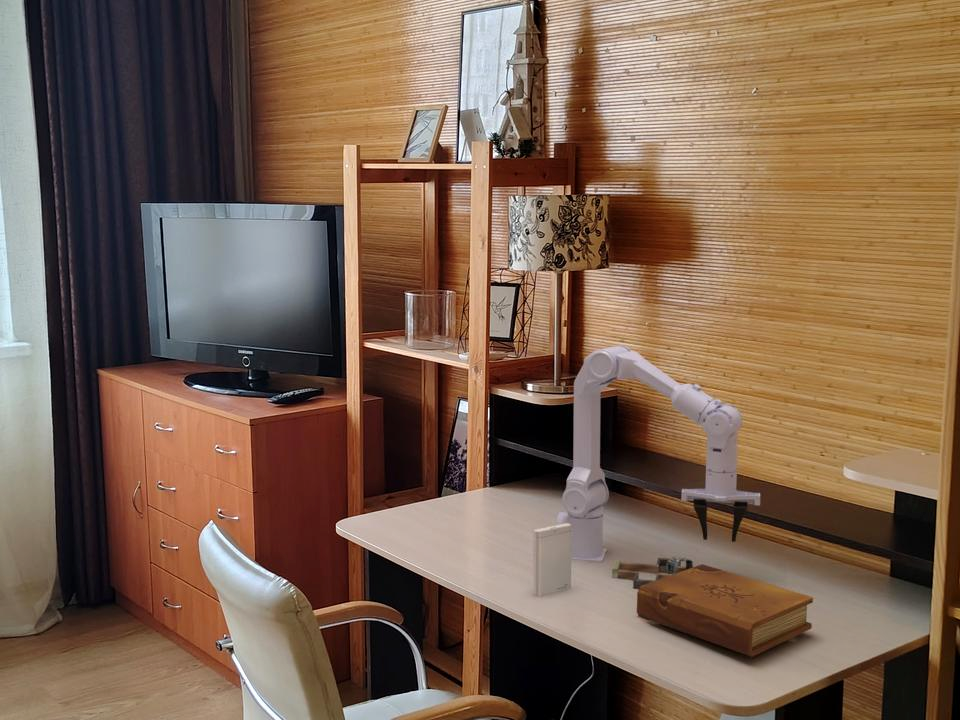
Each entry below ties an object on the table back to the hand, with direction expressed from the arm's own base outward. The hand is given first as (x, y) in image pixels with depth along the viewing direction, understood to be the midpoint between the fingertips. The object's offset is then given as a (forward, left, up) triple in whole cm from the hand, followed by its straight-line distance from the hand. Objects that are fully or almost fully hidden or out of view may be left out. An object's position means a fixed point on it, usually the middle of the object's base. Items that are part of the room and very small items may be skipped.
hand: (719, 539), depth 202 cm
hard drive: (-30, -13, -9) cm, 34 cm away
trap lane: (-11, 0, -8) cm, 14 cm away
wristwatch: (-7, 0, -9) cm, 12 cm away
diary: (+1, -20, -9) cm, 22 cm away
